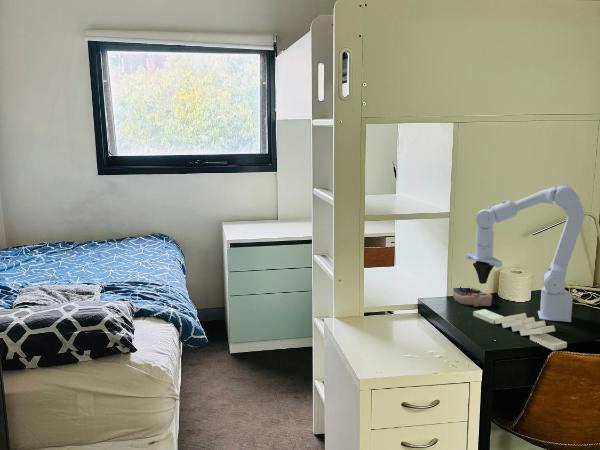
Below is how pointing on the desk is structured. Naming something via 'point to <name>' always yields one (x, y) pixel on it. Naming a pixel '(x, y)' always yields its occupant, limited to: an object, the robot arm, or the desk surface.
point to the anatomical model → (471, 297)
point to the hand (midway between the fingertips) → (482, 283)
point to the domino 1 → (486, 315)
